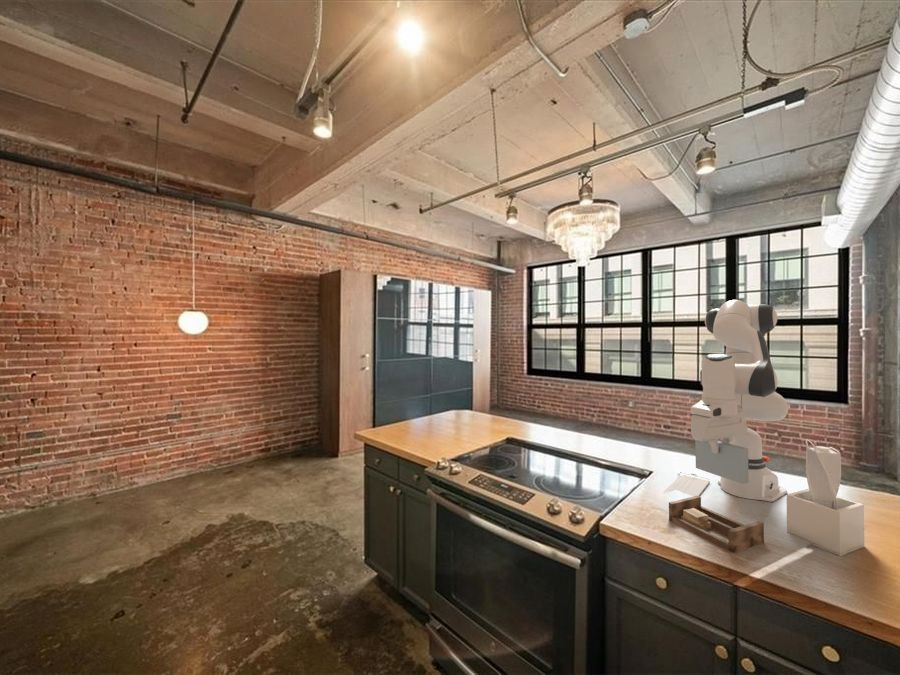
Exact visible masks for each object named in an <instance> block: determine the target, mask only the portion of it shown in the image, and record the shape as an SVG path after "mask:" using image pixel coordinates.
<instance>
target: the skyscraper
mask: <svg viewBox="0 0 900 675" xmlns="http://www.w3.org/2000/svg"><path fill="white" fill-rule="evenodd" d="M808 442H809V443H810V444H811V446H812V447H809V444H808ZM805 446H806V447H805V448H806V451H805V472H806V474H805V475H806V480H807V486H808V489H809V491H810V501H811V502H814V503H817V504H820V505H823V506H826V507H829V508H832V509H835V510H838V509H839V508H838V503H837V499H836V496H838V492H839V490H840V485H841V479H842V458H841V452H840V451H839V450H838V449H837V448H834V447H833V446H829V447H827V446H822V445H816V446H815V444H814V443H813V442H812V440H810V439H808V438H806V439H805Z"/></svg>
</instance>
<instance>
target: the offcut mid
mask: <svg viewBox="0 0 900 675" xmlns="http://www.w3.org/2000/svg"><path fill="white" fill-rule="evenodd" d="M681 519H682V520H684V521H686V522H688V523H691V524H693V525H695V526H697V527H699V528H701V529H703V530H705V531H708V530H710V529H711V530H712V528H711V522H709V521H708V522H705V523H700V524H697V523H695V522H693V521H691V520H689V519H688V518H686V517H684V516H681Z"/></svg>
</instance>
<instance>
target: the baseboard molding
mask: <svg viewBox="0 0 900 675" xmlns="http://www.w3.org/2000/svg"><path fill="white" fill-rule="evenodd" d="M676 474H677V476H678V477H677V478H676V479H675V480H674V481H673V483H672V484H671V485H669V486H668V487H667V488H666V489H665V490H664V492H662V493H661V494H662V495H664V494H666V493H670V492H673V491H679V492H681V493H683V494H686V495H688V496H690V497H694V496H700V497H701V495H702V494H703V493H704V491H705V490H706V488H707V487H708V486H709V484H710V483H711V481H710V480H708V478H706V477H705V479H704V478H703V479H702V478H698V477H699V476H698V475H697V474H695V473H694V474H693V473H691V474H690V475H691V476H689V475H687V474H686V473H684V472H683V474H684V475H681V474H682V472H681V471H680V473H676ZM693 476H695V477H693Z"/></svg>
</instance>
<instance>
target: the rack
mask: <svg viewBox="0 0 900 675" xmlns="http://www.w3.org/2000/svg"><path fill="white" fill-rule="evenodd" d="M691 508H695V509H696V510H698V511H700V512H702V513H704V514H706V515H708V521H709V522H711V530H713V531H716V532H718V533H720V534H723V535H725V536H726V537H727V538H728V540H725V539H723V538H721V537H718V536H717V535H715V534H713V533H711V532H710V531H709V532H708V530H706V531H705V530H703V529H701V528H699V527H697V526H695V525H693V524H691V523H688V522H686V521H684V520H682V519H681V516H683V510H686V509H691ZM668 521H670V522H672V523H674V524H676V525H678V526H680V527H682V528H684V529H685V530H688V531H690V532H692V533H693V534H695V535H698V536H700V537H701V538H703V539H705V540H707V541H709V542H711V543H713V544H715V545H717V546H718V547H721V548H723V549H725V550H727V551H729V552H731V553H733V554H734V553H737V552H740V551H742V550H743V551H744V550H746V549H749V548H752V547H755V546H757V545H758V546H759V545H761V544H763V543H765V529H764V527H765V526H764V522H762V521H760V520H758V521H754V522H751V523H748V524H743V523H742V522H738V520H737V521H736V520H734V519H732V518H730V517H727V516H725V515H722V514H720V513H718V512H717V511H713V510H711V509H709V508H707V507H704V506H702V497H701V495H700V496H689V497H687V498H686V497H685V498H682V499H679V500H678V499H677V500H673V501H670V502H668Z"/></svg>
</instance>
